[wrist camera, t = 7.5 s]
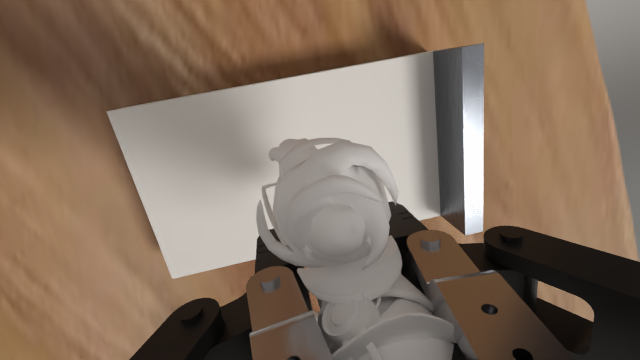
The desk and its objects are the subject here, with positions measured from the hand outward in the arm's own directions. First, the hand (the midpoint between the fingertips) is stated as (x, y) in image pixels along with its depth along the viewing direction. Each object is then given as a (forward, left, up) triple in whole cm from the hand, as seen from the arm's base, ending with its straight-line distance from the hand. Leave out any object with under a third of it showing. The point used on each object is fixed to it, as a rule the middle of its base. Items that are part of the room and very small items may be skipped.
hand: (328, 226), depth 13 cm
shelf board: (0, 0, -11) cm, 11 cm away
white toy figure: (0, 0, -3) cm, 3 cm away
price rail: (0, -9, -8) cm, 12 cm away
